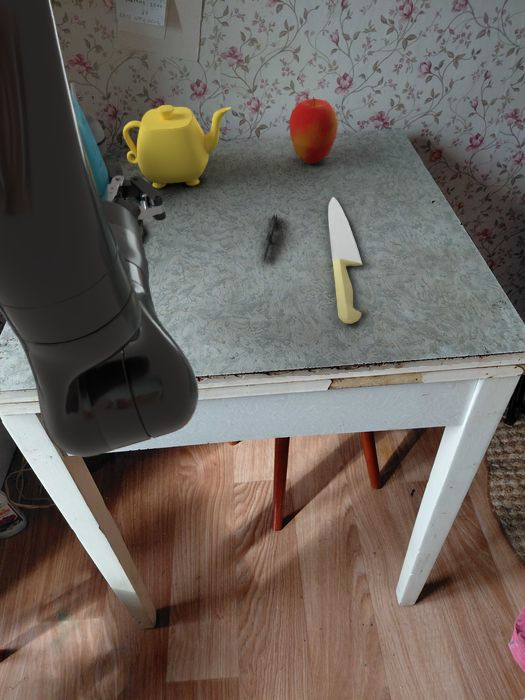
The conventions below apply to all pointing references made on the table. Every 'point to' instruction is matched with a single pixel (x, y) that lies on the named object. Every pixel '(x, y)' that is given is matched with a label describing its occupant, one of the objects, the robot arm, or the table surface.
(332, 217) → the knife
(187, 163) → the teapot
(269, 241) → the folding knife
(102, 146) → the beverage cup
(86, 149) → the tube
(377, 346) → the table surface
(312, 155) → the apple
